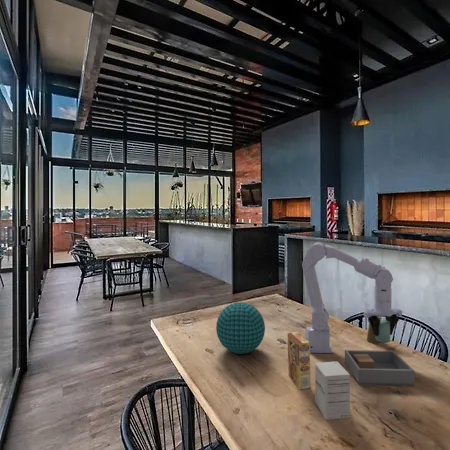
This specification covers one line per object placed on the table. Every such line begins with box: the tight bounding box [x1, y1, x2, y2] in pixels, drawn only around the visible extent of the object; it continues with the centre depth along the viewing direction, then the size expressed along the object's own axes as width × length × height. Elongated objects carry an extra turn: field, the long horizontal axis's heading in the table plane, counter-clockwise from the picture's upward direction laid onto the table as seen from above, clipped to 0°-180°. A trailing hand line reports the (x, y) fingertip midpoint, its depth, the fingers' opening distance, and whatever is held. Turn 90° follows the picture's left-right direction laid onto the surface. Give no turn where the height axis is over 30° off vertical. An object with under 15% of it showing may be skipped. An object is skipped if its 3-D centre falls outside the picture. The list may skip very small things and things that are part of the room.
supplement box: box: [314, 361, 351, 421], centre depth 84 cm, size 7×7×13 cm
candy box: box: [287, 331, 312, 390], centre depth 99 cm, size 9×4×15 cm, turn 13°
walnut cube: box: [354, 354, 374, 369], centre depth 103 cm, size 5×5×5 cm
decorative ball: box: [215, 301, 266, 355], centre depth 121 cm, size 20×20×20 cm
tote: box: [344, 349, 415, 387], centre depth 103 cm, size 18×14×5 cm
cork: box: [366, 316, 383, 345], centre depth 128 cm, size 6×6×11 cm
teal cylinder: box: [375, 319, 391, 344], centre depth 113 cm, size 5×5×7 cm
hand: (382, 334), depth 113 cm, fingers closed on teal cylinder, 5 cm apart
